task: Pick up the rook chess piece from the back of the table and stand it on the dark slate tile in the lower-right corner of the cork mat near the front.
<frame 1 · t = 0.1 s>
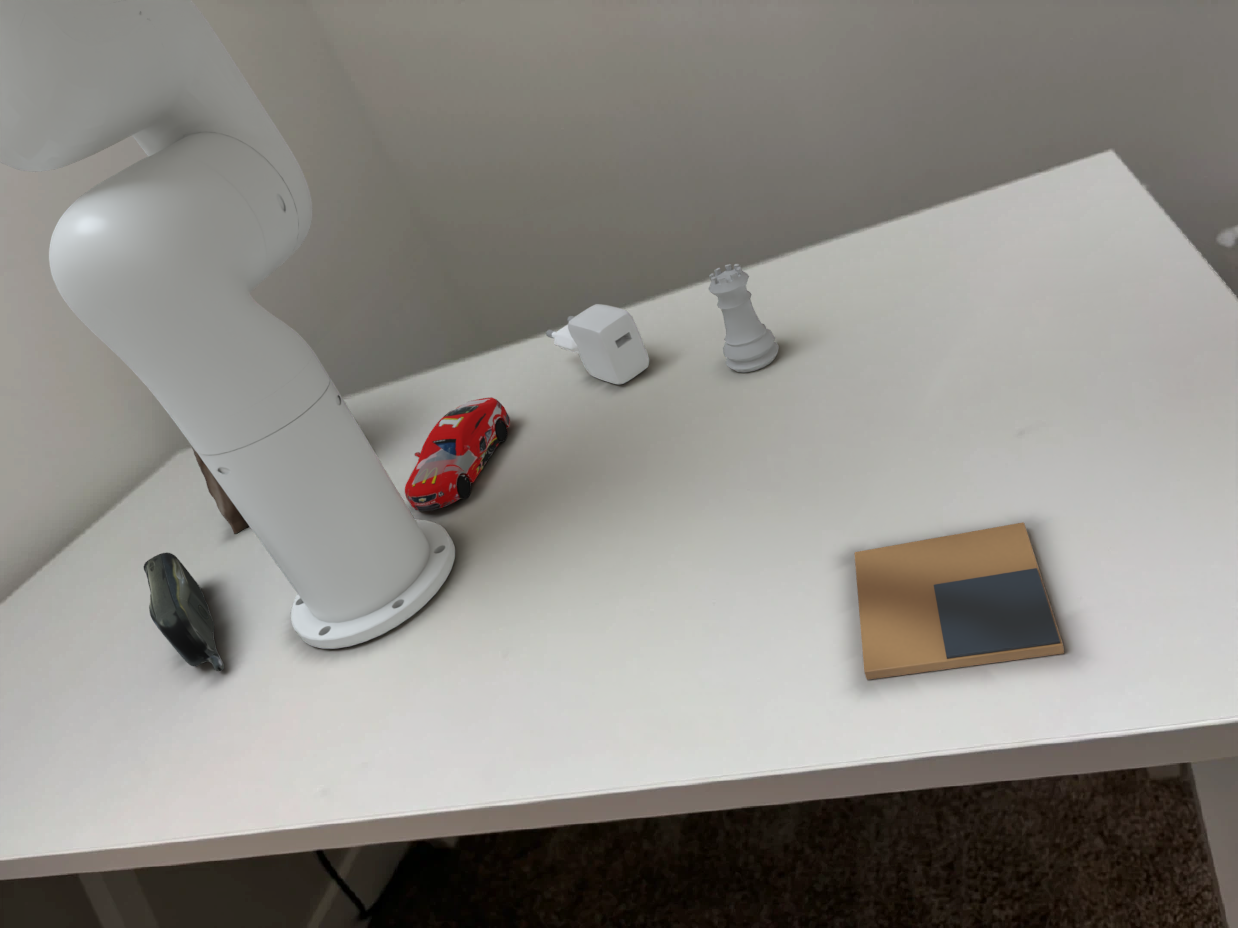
race car: (466, 469, 80), on the table
owl: (282, 489, 90), on the table
rook chess piece: (754, 361, 77), on the table
cork mat: (949, 601, 49), on the table
power adapter: (604, 368, 86), on the table
dark green oblong piece: (201, 635, 73), on the table
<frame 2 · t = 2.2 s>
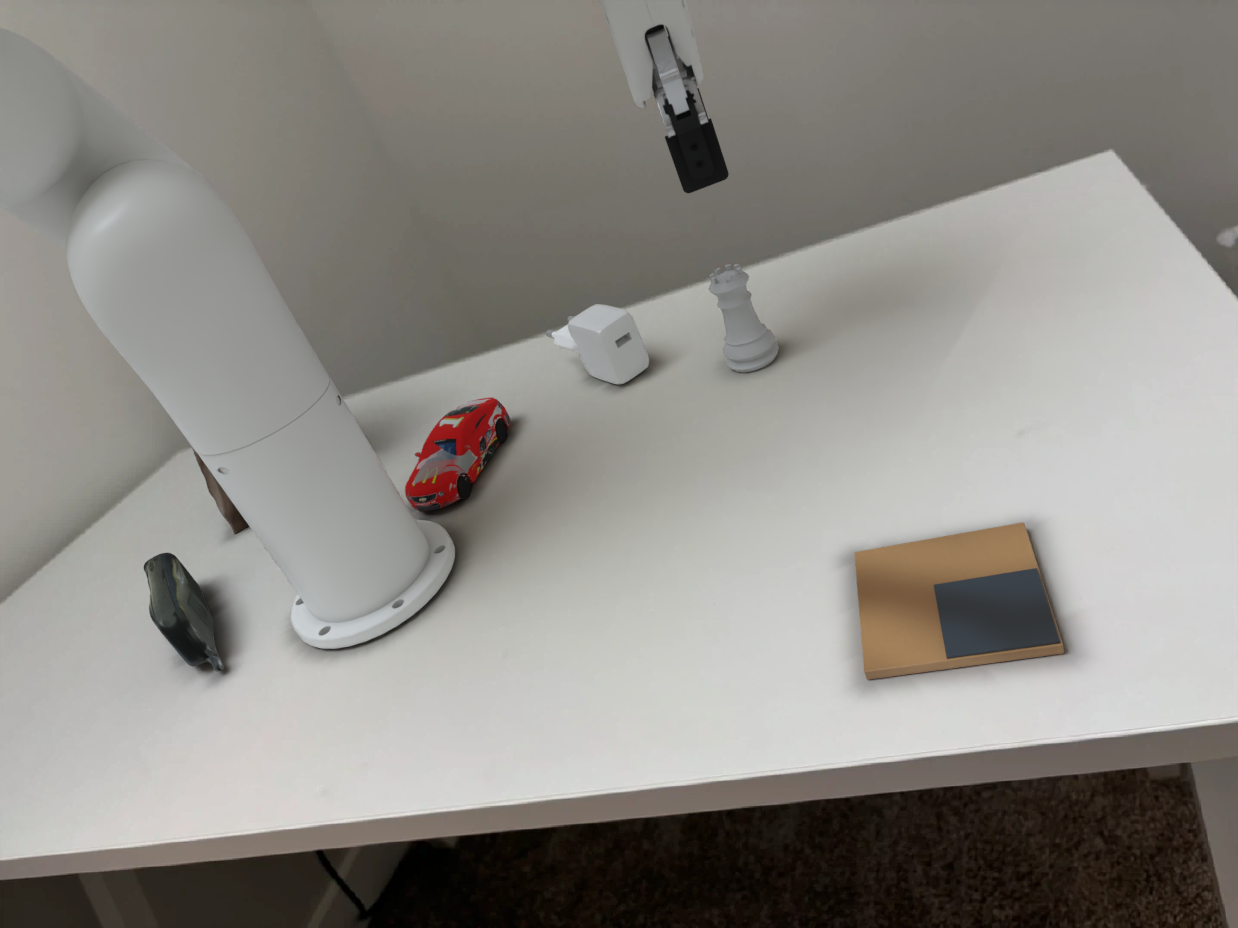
hand: (700, 165, 68), 17 cm above the table, tool pointing down, fingers open, 9 cm apart
nothing on the table moved.
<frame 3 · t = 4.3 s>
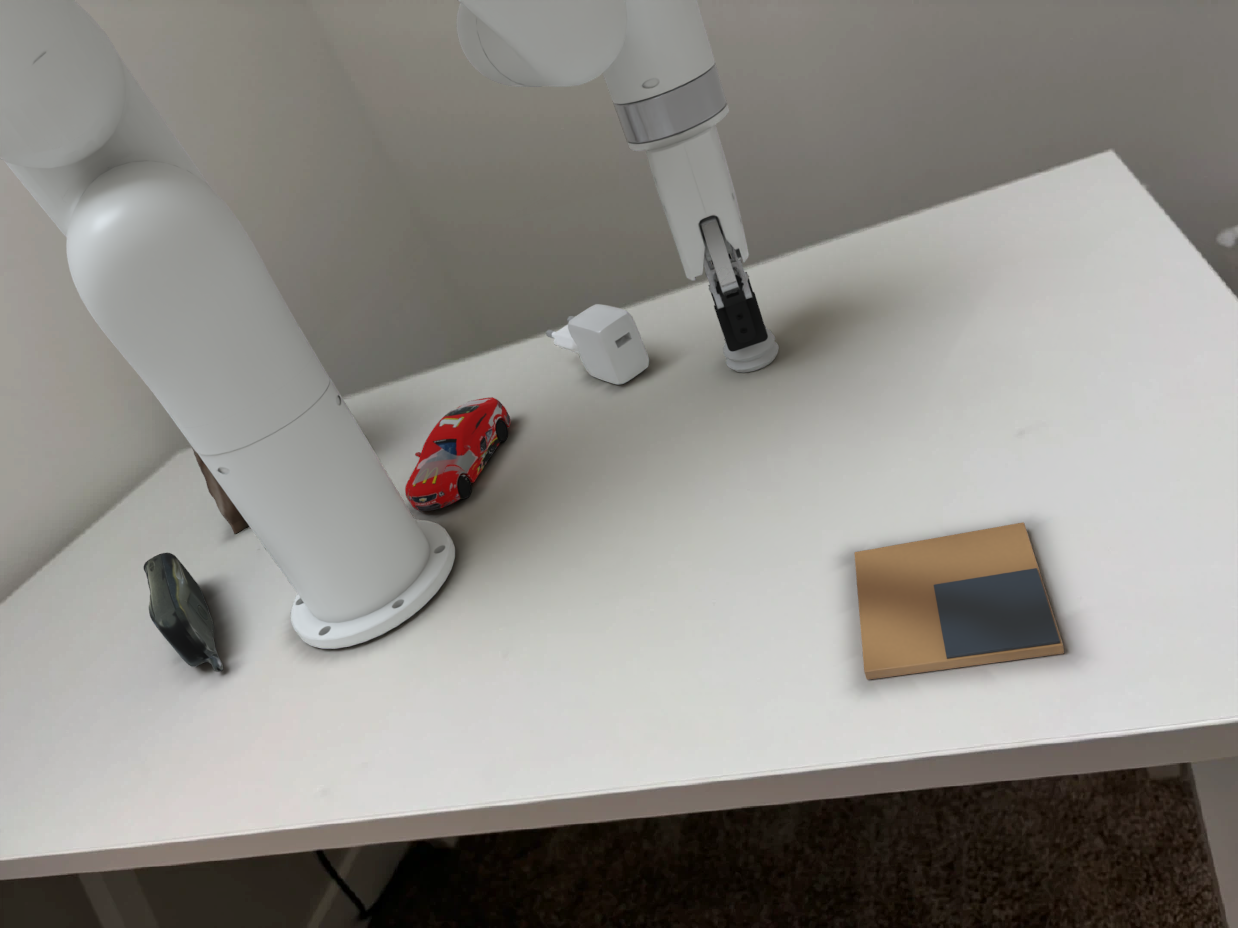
hand: (744, 331, 76), 3 cm above the table, tool pointing down, fingers closed on rook chess piece, 3 cm apart
rook chess piece: (754, 361, 77), on the table, touching gripper
everything else where it was.
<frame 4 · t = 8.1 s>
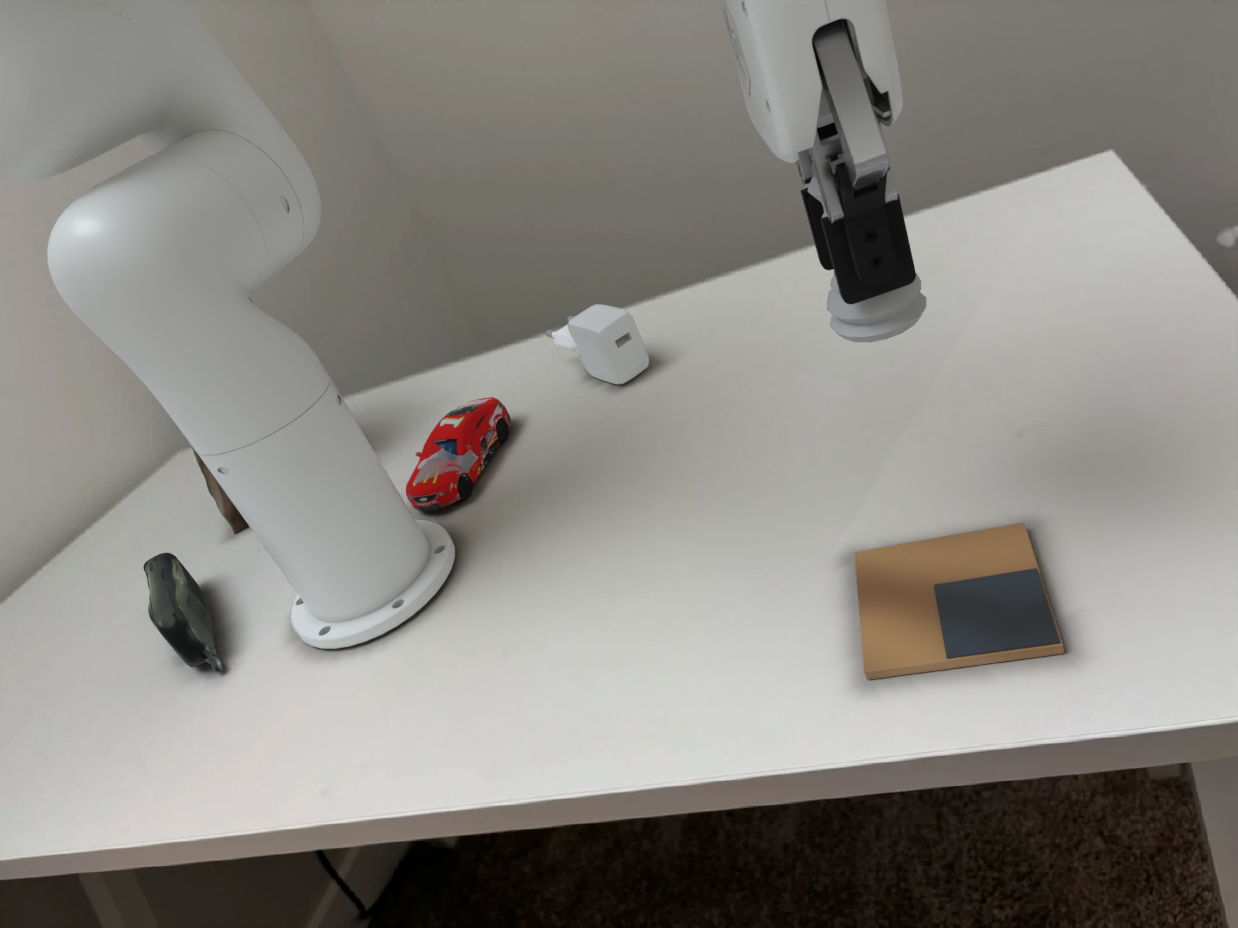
hand: (866, 271, 43), 17 cm above the table, tool pointing down, fingers closed on rook chess piece, 3 cm apart
rook chess piece: (880, 324, 44), point 14 cm above the table, touching gripper
everything else where it was.
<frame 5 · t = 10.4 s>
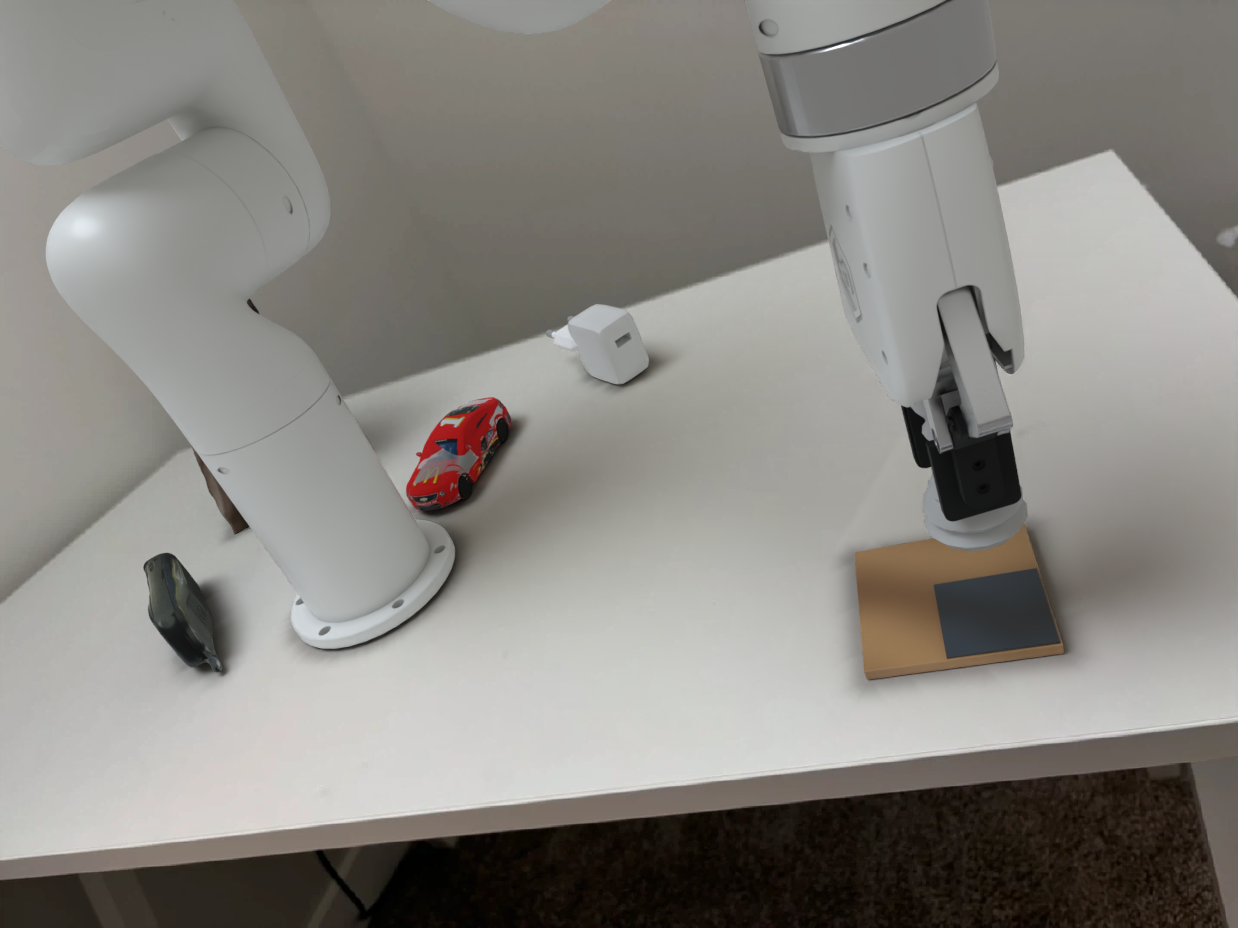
hand: (965, 478, 42), 9 cm above the table, tool pointing down, fingers closed on rook chess piece, 3 cm apart
rook chess piece: (977, 526, 43), point 6 cm above the table, touching gripper
everything else where it was.
when the fingers open (3 cm above the table, at t = 12.0 s): rook chess piece stays where it is, resting on cork mat.
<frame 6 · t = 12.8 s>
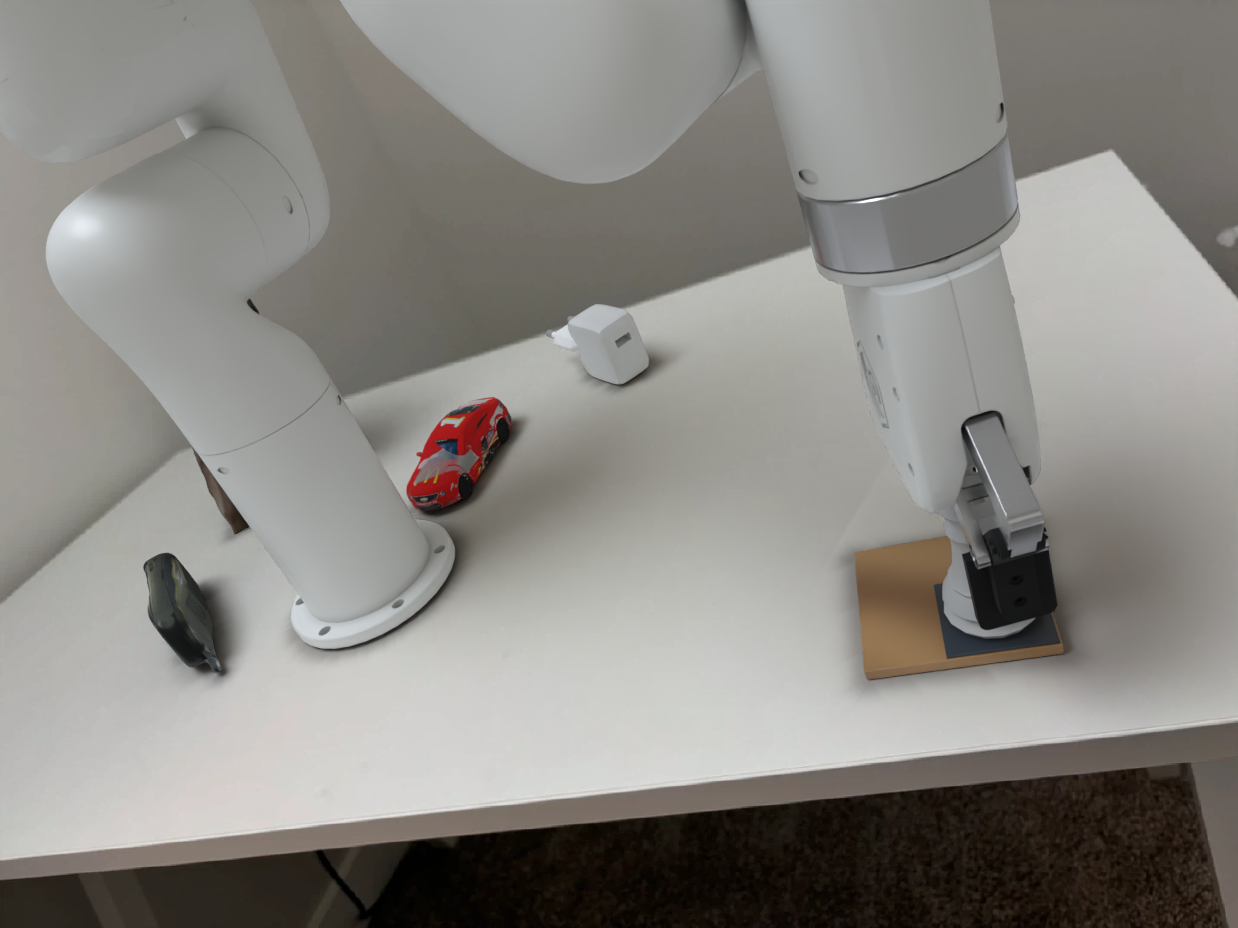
hand: (977, 547, 44), 5 cm above the table, tool pointing down, fingers open, 9 cm apart
rook chess piece: (993, 613, 46), point 1 cm above the table, touching cork mat
everything else where it was.
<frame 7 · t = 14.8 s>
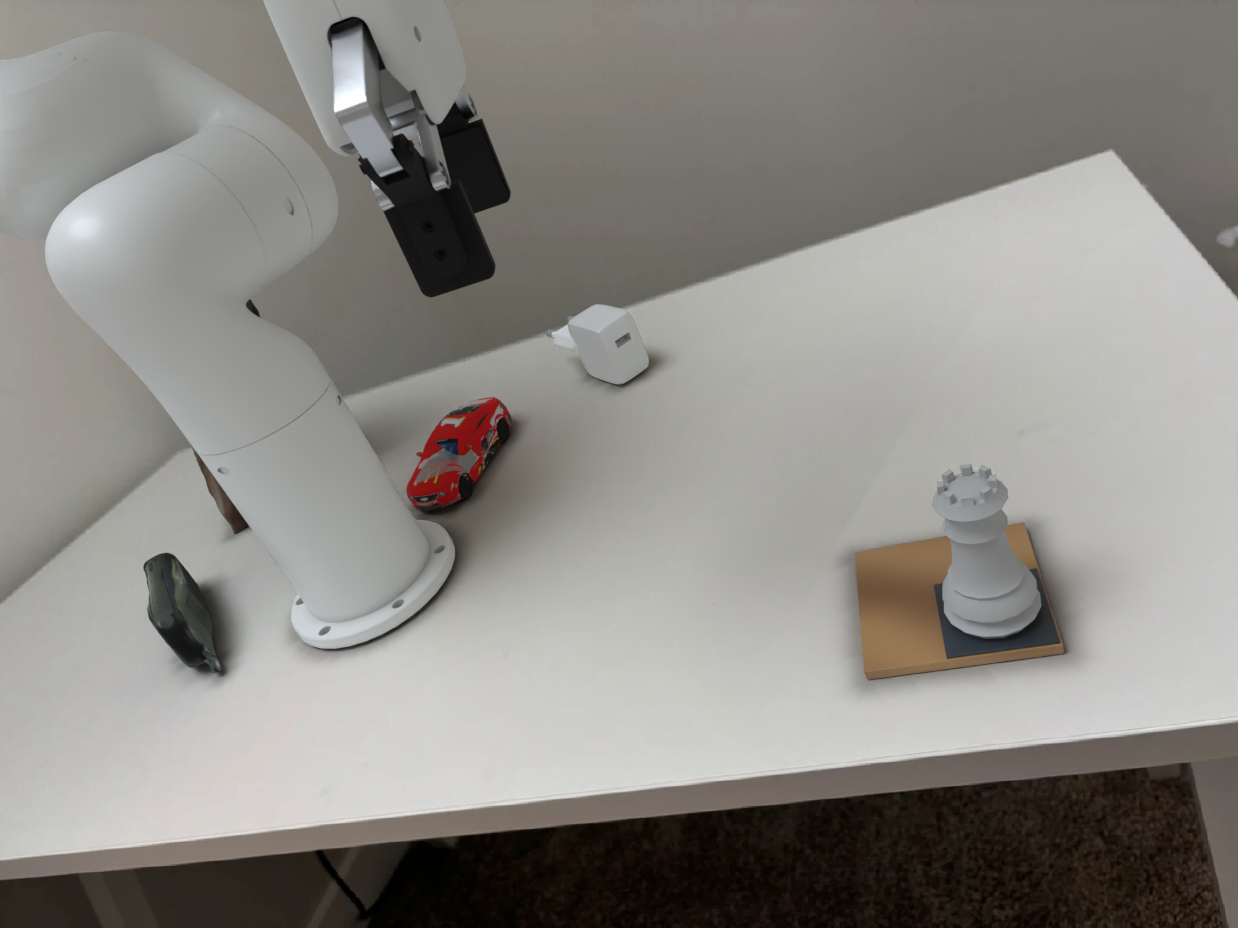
hand: (473, 243, 43), 24 cm above the table, tool pointing down, fingers open, 9 cm apart
nothing on the table moved.
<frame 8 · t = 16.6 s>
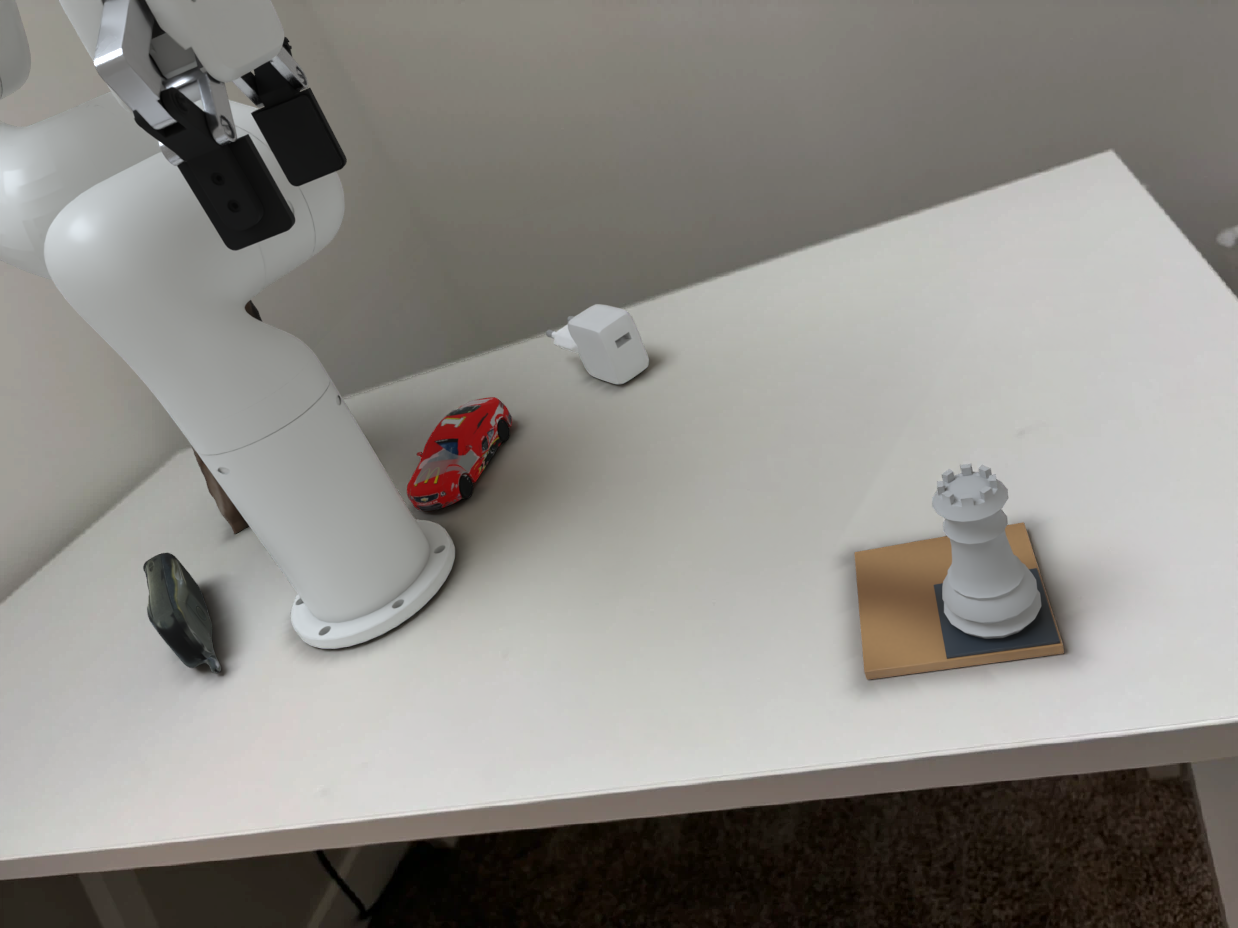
hand: (295, 204, 45), 28 cm above the table, tool pointing down, fingers open, 9 cm apart
nothing on the table moved.
at the end: rook chess piece 0.0 cm from the target spot on the cork mat, point 0.6 cm above the cork mat's base; rook chess piece tilted 0°; the gripper is holding nothing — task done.
